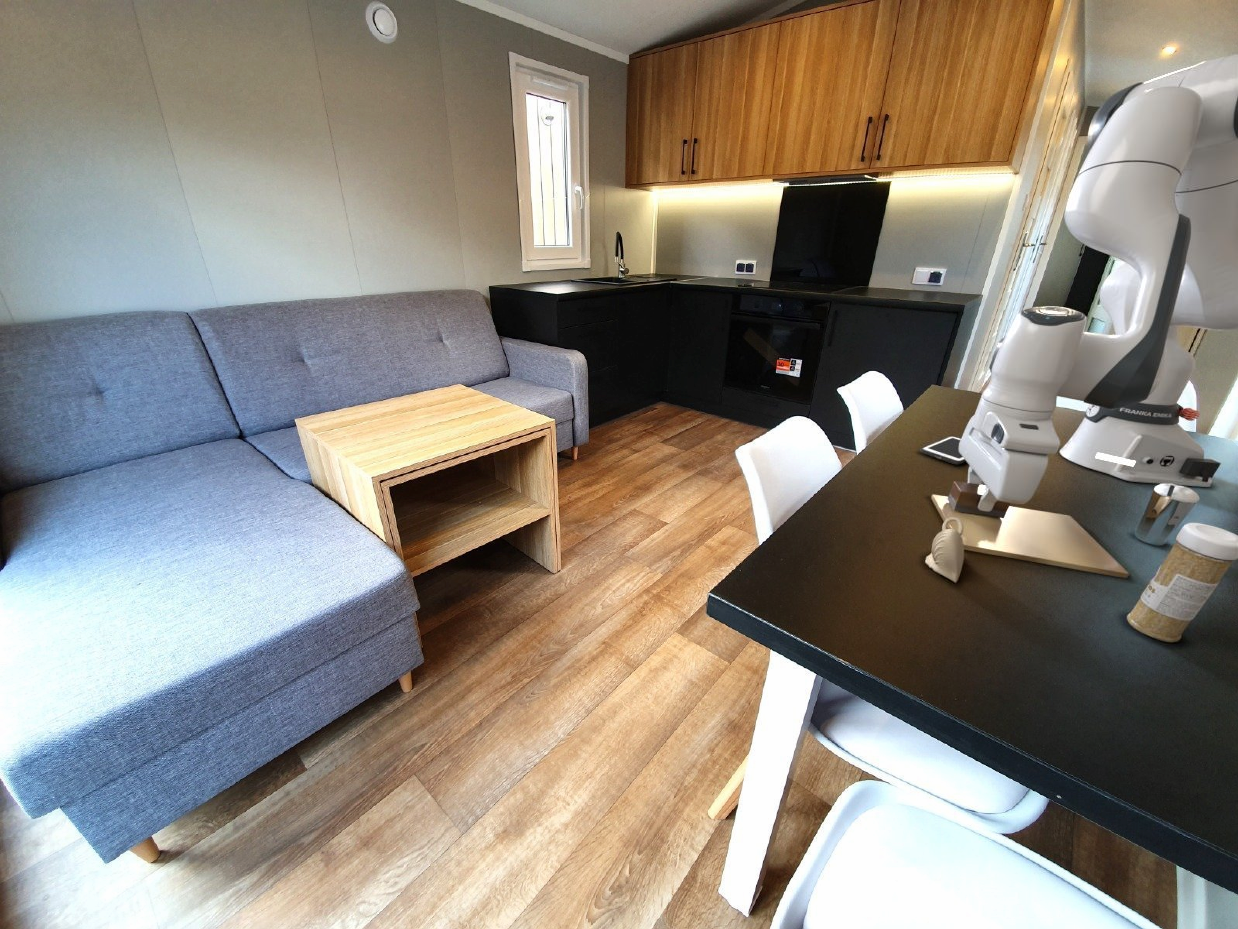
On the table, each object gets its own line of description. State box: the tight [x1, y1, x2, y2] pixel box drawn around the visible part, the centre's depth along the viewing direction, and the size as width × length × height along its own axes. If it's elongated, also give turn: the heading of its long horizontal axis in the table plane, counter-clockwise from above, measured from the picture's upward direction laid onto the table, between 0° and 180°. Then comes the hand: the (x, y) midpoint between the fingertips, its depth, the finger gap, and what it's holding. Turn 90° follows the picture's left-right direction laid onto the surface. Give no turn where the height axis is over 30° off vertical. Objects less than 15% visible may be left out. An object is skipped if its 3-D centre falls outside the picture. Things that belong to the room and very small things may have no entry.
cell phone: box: [920, 435, 967, 466], centre depth 104 cm, size 8×15×1 cm, turn 125°
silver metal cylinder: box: [1134, 483, 1200, 547], centre depth 73 cm, size 4×5×10 cm
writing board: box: [930, 494, 1130, 579], centre depth 75 cm, size 20×16×1 cm
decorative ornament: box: [924, 517, 965, 583], centre depth 66 cm, size 4×8×5 cm, turn 139°
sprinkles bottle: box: [1126, 522, 1238, 643], centre depth 54 cm, size 5×5×13 cm
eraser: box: [947, 480, 1011, 519], centre depth 79 cm, size 7×4×4 cm, turn 72°
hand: (977, 501), depth 79 cm, fingers closed on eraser, 4 cm apart
